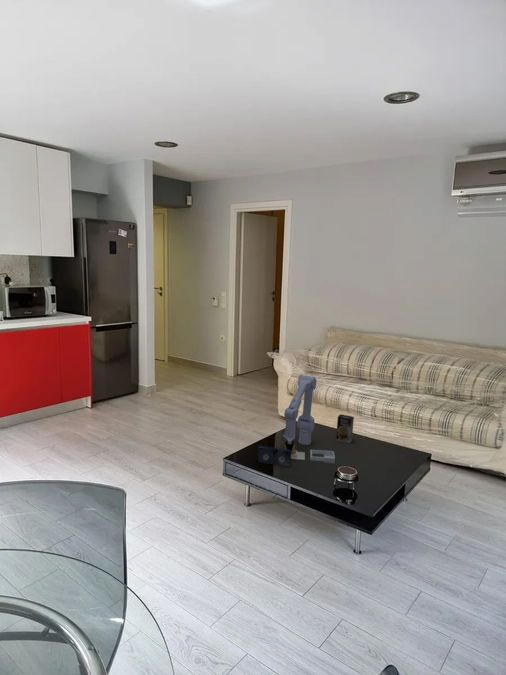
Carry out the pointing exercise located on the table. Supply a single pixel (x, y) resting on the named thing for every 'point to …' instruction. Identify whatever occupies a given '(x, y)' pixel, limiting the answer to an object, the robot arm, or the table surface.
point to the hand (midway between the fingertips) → (289, 450)
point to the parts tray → (327, 457)
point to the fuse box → (298, 455)
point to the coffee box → (344, 428)
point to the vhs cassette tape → (274, 456)
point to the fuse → (292, 449)
